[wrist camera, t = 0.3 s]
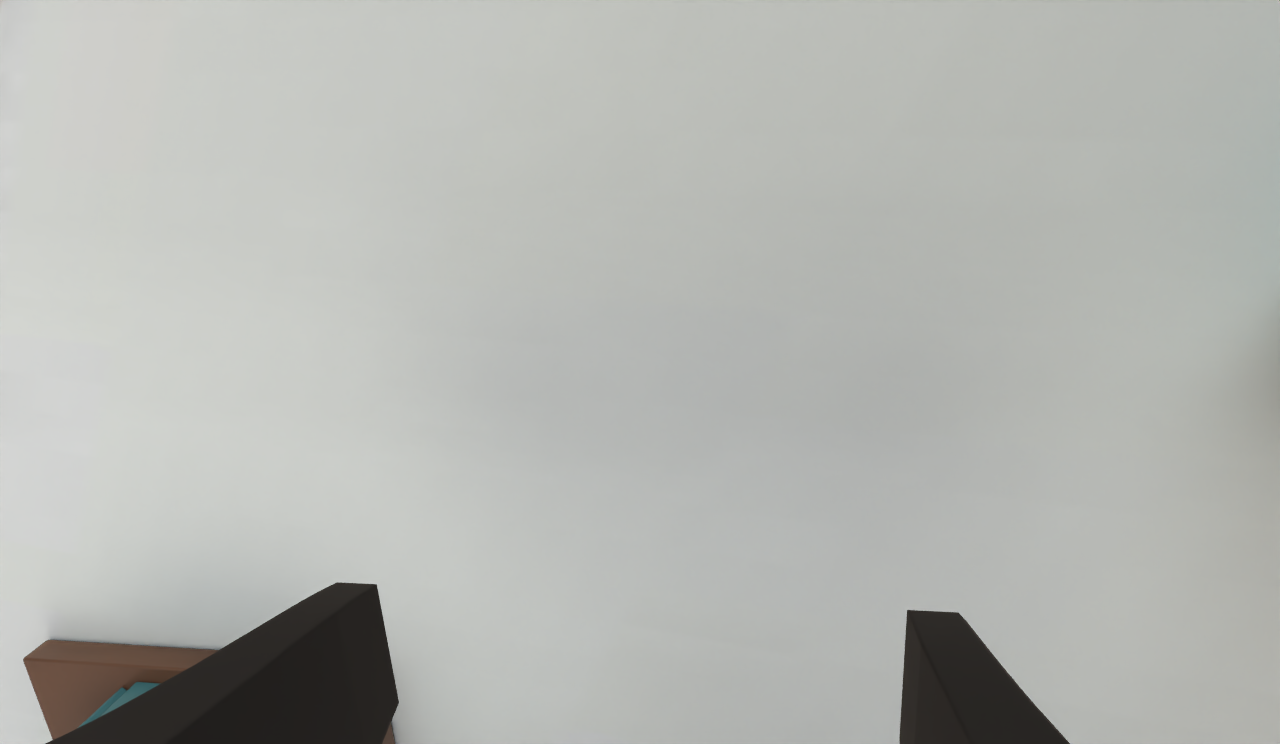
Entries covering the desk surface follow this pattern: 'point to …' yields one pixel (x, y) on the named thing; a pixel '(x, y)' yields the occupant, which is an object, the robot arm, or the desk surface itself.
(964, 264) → the desk surface
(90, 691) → the peg stand
